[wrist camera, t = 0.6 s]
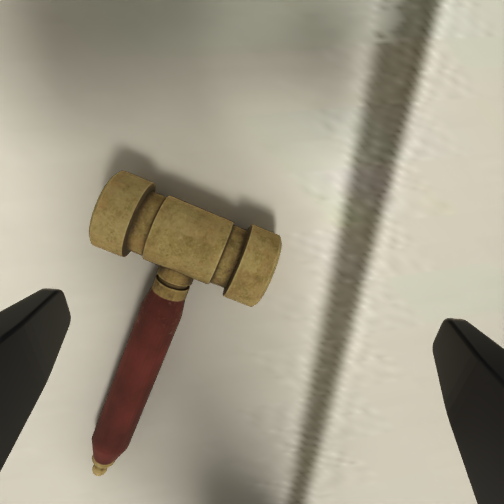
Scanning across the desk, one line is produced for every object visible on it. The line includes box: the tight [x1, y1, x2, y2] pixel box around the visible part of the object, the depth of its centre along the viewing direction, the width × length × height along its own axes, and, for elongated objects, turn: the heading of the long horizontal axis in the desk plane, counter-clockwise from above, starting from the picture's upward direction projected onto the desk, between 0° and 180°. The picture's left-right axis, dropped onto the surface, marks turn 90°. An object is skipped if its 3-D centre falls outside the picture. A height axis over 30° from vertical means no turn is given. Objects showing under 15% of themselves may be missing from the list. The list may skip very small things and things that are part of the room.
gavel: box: [89, 171, 282, 476], centre depth 24 cm, size 21×5×10 cm
